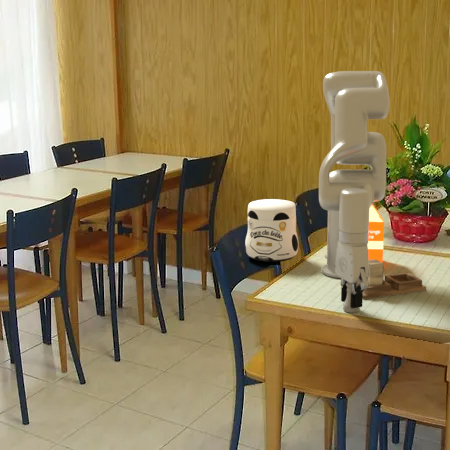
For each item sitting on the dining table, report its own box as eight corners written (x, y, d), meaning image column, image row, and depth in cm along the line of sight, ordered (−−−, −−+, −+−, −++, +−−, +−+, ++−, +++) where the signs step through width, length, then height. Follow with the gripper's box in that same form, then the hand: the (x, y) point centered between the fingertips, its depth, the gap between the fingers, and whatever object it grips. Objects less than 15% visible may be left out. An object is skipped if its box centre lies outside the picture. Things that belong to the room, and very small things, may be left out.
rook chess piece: (357, 306, 192) (358, 278, 190) (361, 313, 187) (362, 283, 185) (341, 307, 192) (341, 278, 190) (344, 313, 187) (345, 284, 185)
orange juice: (379, 259, 232) (382, 198, 227) (382, 267, 224) (385, 204, 219) (355, 259, 233) (356, 198, 228) (357, 267, 225) (359, 204, 220)
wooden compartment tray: (349, 290, 204) (349, 259, 202) (409, 281, 211) (411, 252, 209) (363, 299, 197) (364, 267, 195) (426, 290, 204) (427, 259, 201)
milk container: (254, 268, 226) (254, 212, 221) (238, 253, 242) (238, 200, 237) (306, 263, 230) (307, 207, 225) (287, 248, 246) (287, 196, 242)
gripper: (325, 230, 191) (323, 295, 196) (356, 246, 176) (354, 317, 180) (350, 227, 193) (348, 292, 198) (383, 243, 178) (381, 313, 183)
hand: (351, 303), depth 189 cm, fingers closed on rook chess piece, 4 cm apart
